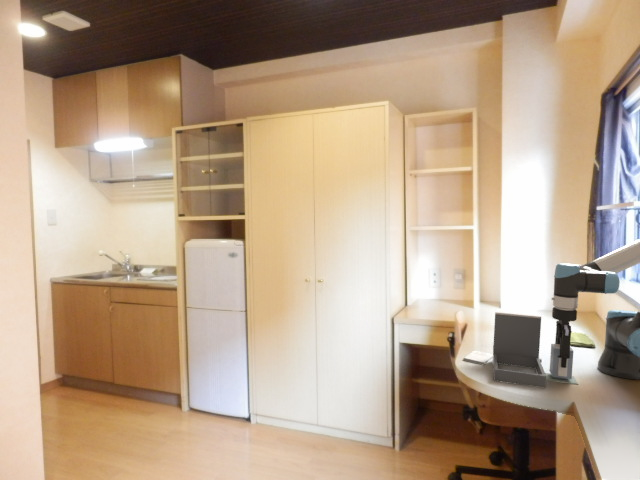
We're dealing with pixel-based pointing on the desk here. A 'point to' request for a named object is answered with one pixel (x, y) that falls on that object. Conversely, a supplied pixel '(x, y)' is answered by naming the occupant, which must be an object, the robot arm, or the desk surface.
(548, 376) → the mat
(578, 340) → the washcloth
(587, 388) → the desk surface
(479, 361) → the external hard drive
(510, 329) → the case
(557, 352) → the block
